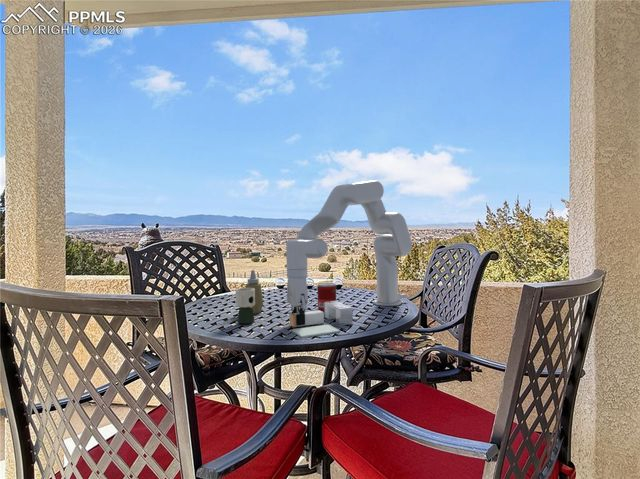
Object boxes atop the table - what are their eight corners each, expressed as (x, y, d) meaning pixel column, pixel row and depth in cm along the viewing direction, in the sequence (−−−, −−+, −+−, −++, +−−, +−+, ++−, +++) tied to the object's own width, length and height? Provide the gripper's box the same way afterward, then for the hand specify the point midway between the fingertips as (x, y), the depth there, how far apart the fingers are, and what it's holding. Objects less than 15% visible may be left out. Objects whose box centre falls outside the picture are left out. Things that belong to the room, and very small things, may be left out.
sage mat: (328, 326, 140) (328, 324, 140) (340, 332, 132) (339, 330, 132) (292, 331, 134) (292, 329, 134) (301, 337, 126) (301, 336, 126)
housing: (336, 315, 155) (335, 300, 155) (352, 323, 142) (352, 307, 142) (324, 317, 153) (324, 302, 153) (340, 325, 140) (340, 308, 140)
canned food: (336, 311, 164) (336, 285, 163) (317, 311, 164) (317, 285, 163) (336, 307, 171) (335, 282, 171) (318, 307, 172) (317, 282, 171)
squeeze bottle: (265, 310, 168) (264, 269, 167) (261, 314, 160) (259, 271, 159) (247, 310, 168) (246, 269, 168) (241, 314, 160) (240, 271, 160)
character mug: (250, 327, 141) (249, 291, 140) (231, 326, 142) (230, 291, 141) (259, 319, 151) (258, 286, 151) (242, 319, 152) (241, 286, 152)
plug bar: (319, 320, 147) (319, 310, 146) (323, 323, 143) (323, 312, 143) (289, 324, 142) (289, 313, 142) (293, 327, 138) (293, 316, 138)
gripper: (280, 271, 146) (281, 319, 147) (295, 277, 131) (296, 330, 132) (298, 270, 149) (299, 317, 150) (315, 275, 134) (316, 327, 135)
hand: (298, 322), depth 141 cm, fingers closed on plug bar, 4 cm apart
